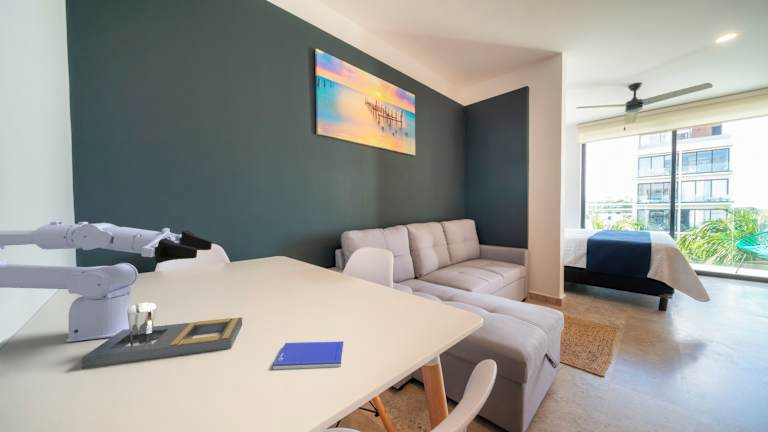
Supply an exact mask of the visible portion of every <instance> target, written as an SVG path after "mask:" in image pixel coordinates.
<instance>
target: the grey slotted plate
mask: <svg viewBox="0 0 768 432" xmlns="http://www.w3.org/2000/svg"><path fill="white" fill-rule="evenodd" d="M242 326H243V317H232V318H231V317H228V318H218V319H217V318H216V319H208V320H200V321H199V320H198V321H194V322H187V323H186V322H185V323H175V324H165V325H158V326H155V325H154V331H153V340H155V341H154V342H152V344H145V345H137V346H131V345H130V346H128V344H131V343H130V333H129V329H125V330H122V331H120V332H119V333H117V334H116V335H114V336H113V337H109V339H107V340H106V341H104V342H102V343H101V344H100V345H98V346H97V347H95V348H94V349H92V350H91V351H90V352H88V353H86V354H85V355H84V356H82V357H81V369H82V370H84V369H90V368H97V367H105V366H112V365H113V366H114V365H117V364H118V365H120V364H126V363H133V362H141V361H149V360H156V359H164V358H169V357H179V356H186V355H191V354H192V355H193V354H199V353H208V352H212V351H213V352H214V351H221V350H230V349H232V347H233V345H234V344H235V341H236V339H237V337H238V334H239V332H240V330H241V329H242ZM220 332H222V333H221V334H216V335H208V336H202V337H201V336H200V337H194V336H196V335H203V334H210V333H211V334H212V333H220Z"/></svg>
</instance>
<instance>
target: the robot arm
mask: <svg viewBox="0 0 768 432" xmlns="http://www.w3.org/2000/svg"><path fill="white" fill-rule="evenodd" d="M170 229H171V228H168V227H165V228H162V229H161V231H156V230H150V229H149V230H148V229H142V228H134V227H128V226H117V225H115V224H113V223H109V222H108V223H107V222H100V223H89V222H88V221H79V222H78V223H64V221H50V224H48V223H47V224H44V225H41V226H39V227H38V228H37V229H33V230H32V229H30V230H29V229H26V230H25V229H21V230H20V229H18V230H15V229H0V248H1V249H2V251H3V250H5V249H6V247H8V246H24V245H36V246H37V247H38V248H39V249H42V250H68V249H69V250H71V249H75V250H77V249H82V250H83V251H88V250H89V251H90V250H95V249H98V248H100V249H106V250H112V251H118V252H126V253H132V254H133V253H135V254H141V257H144V258H153V257H154V262H155V263H157V264H160V263H161V264H162V263H164V262H168V261H174V260H175V261H176V260H187V259H189V260H190V259H196V258H197V256H198V251H210V250H212V246H213V245H212V244H213V242H212V241H211V240H207V239H205V238H203V237H200V236H197V235H195V234H194V233H192V232H191V231H190V230H183V231H181V234H177V233H173V232H170V231H171V230H170ZM138 277H139V272H138V269H137V268H136V267H135V265H132V264H131V263H128V262H119V263H116V264H114V265H99V266H98V265H96V266H63V265H40V264H37V265H36V264H14V263H12V264H11V263H8V261H7V260H6V257H5V255H4V262H2V261H1V262H0V288H4V289H5V288H7V289H11V288H12V289H42V290H43V289H44V290H45V289H46V290H49V289H50V290H67V291H68V293H69V294H72V295H73V294H75V295H80V297H76V299H74V300H73V302H72V303H71V304H70V307H69V309H68V338H67V339H65V343H70V342H78V341H88V340H89V341H90V340H96V339H97V340H98V339H107V338H112V337H113V336H114V335H116V334H117V333H119V332H120V331H122V330H125V329H129V323H128V315H127V310H128V309H129V308H130V307H131V306H132V305H131V302H132V298H131V296H132V295H131V294H132V293H131V292H132V291H131V290H132V288H133V287H132V286H133V285H134V284H135V283H136V282H137V280H138V279H139V278H138Z"/></svg>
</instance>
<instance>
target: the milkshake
mask: <svg viewBox="0 0 768 432" xmlns="http://www.w3.org/2000/svg"><path fill="white" fill-rule="evenodd" d="M156 311H157V305H156V303H153V302H150V301H149V302H141V303H136V304H134V305H131V307H130V308H129V309H128V310H127V315H128V323H129V333H130V343H129V344H130V346H137V345H145V344H153V340H154V339H153V331H154V326H155V320H156V313H157V312H156Z"/></svg>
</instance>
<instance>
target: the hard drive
mask: <svg viewBox="0 0 768 432" xmlns="http://www.w3.org/2000/svg"><path fill="white" fill-rule="evenodd" d="M343 352H344V341H343V340H342V341H341V340H340V341H314V342H313V341H310V342H309V341H308V342H307V341H306V342H305V341H304V342H285V343H284V345H283V346H282V348H281V350H280V352H279V354H278V355H277V356H276V359H274V360H275V361H274V362H273V370H289V369H290V370H293V369H308V368H309V369H310V368H311V369H315V368H331V367H332V368H333V367H337V368H338V367H342V360H343Z"/></svg>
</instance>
